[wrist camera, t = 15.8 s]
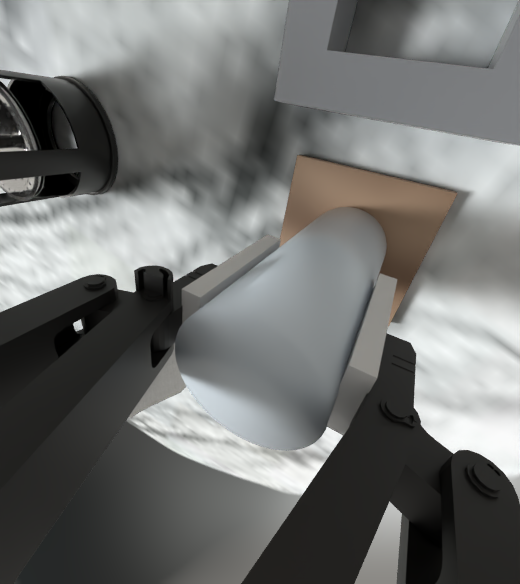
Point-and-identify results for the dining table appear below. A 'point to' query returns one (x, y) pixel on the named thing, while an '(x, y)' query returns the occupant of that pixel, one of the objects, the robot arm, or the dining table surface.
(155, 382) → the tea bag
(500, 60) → the housing
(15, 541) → the robot arm
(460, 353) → the dining table surface
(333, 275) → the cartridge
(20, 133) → the french press
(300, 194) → the pad
